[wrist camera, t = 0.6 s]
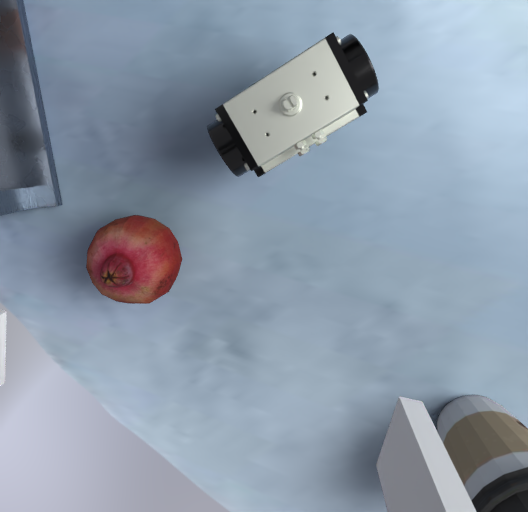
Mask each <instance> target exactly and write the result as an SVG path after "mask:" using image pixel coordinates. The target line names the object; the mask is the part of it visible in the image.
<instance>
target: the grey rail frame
mask: <svg viewBox="0 0 528 512" xmlns="http://www.w3.org/2000/svg"><path fill="white" fill-rule="evenodd" d="M60 205H62V200H61V195H60V190H59V185H58V179H57V174H56V169H55V164H54V159H53V154H52V148H51V143H50V138H49V133H48V128H47V122H46V117H45V112H44V107H43V102H42V97H41V91H40V86H39V81H38V76H37V71H36V65H35V60H34V55H33V50H32V45H31V40H30V34H29V29H28V24H27V19H26V14H25V8H24V3H23V0H0V215H4V214H9V213H14V212H18V211H23V210H28V209H33V208H37V207H52V206H60Z"/></svg>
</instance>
